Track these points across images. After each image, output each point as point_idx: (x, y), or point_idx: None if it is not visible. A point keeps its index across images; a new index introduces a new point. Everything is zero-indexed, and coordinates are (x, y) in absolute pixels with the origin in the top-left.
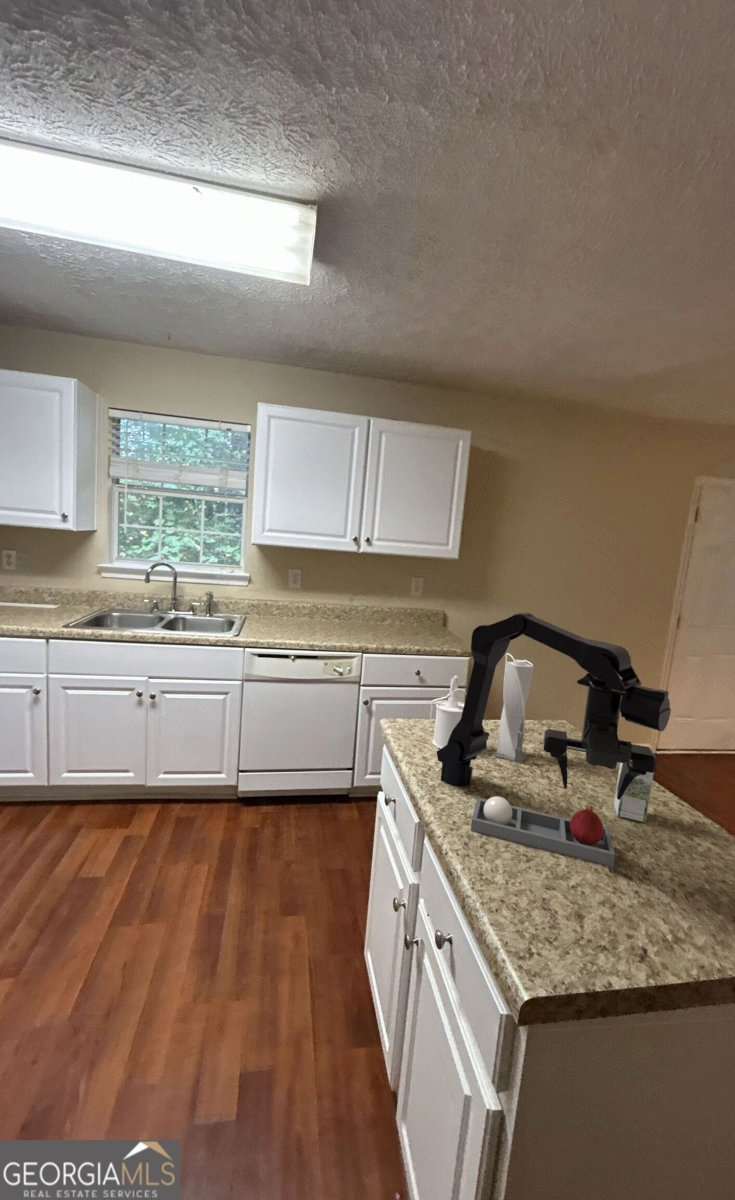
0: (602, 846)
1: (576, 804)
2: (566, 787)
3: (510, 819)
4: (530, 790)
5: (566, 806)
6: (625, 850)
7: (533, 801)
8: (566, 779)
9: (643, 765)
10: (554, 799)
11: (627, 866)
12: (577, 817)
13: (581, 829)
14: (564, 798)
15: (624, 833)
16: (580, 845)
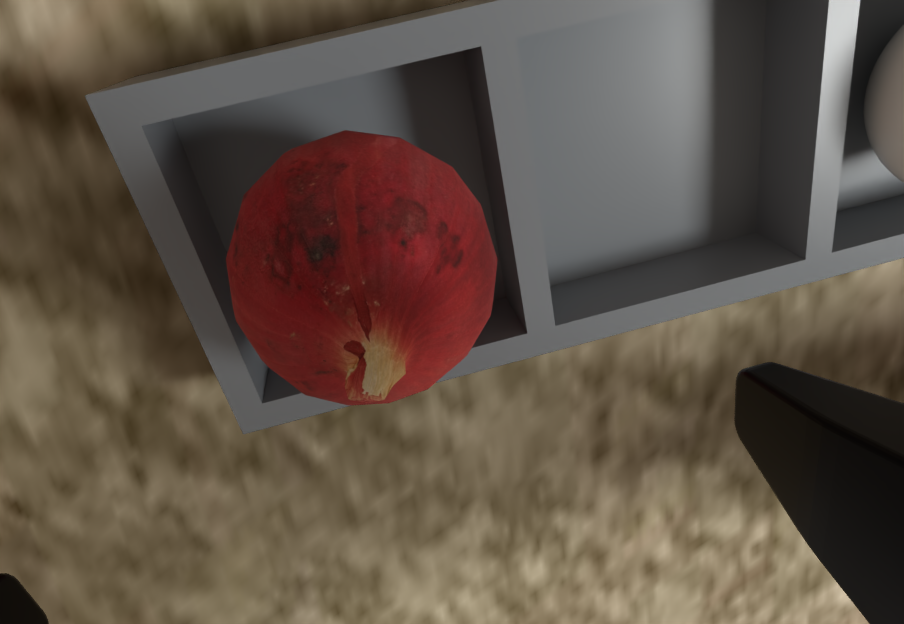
0: None
1: (474, 609)
2: (747, 375)
3: (891, 72)
4: (687, 574)
5: (515, 564)
6: (152, 389)
7: (669, 500)
8: (884, 437)
9: None
10: (575, 580)
11: (83, 228)
12: (456, 241)
13: (391, 150)
14: (532, 616)
15: (208, 537)
16: (364, 44)
